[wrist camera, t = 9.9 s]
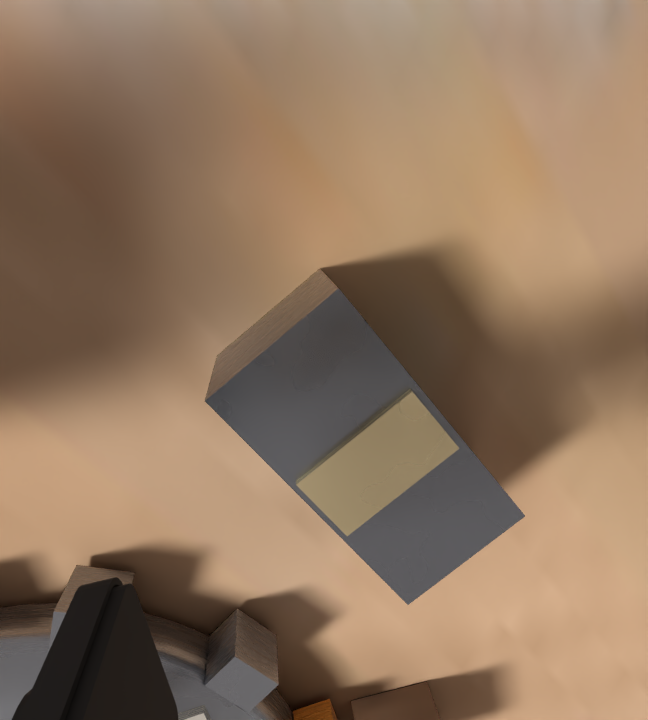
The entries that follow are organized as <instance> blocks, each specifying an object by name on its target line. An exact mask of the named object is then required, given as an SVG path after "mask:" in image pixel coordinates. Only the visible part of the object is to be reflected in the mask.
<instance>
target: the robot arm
mask: <svg viewBox="0 0 648 720" xmlns="http://www.w3.org/2000/svg"><path fill="white" fill-rule="evenodd" d="M12 720H178V711H177V706H176V702H175V700H174V697H173V694H172V691H171V688H170V686H169V683H168V680H167V677H166V674H165V672H164V669H163V666H162V663H161V660H160V657H159V655H158V652H157V649H156V646H155V643H154V641H153V638H152V635H151V632H150V629H149V627H148V624H147V621H146V618H145V615H144V613H143V610H142V607H141V604H140V601H139V599H138V596H137V593H136V590H135V588H134V586H133V585H132V584H130V583H129V584H125V585H123V584H122V581H121V580H120V579H119V578H117V577H114V578H110V579H106V580H101V581H97V582H93V583H89V584H85V585H81V586H80V587H78V589H77V590H76V592H75V594H74V597H73V599H72V601H71V603H70V605H69V608H68V610H67V612H66V614H65V617H64V619H63V621H62V623H61V626H60V628H59V630H58V632H57V634H56V637H55V639H54V641H53V643H52V646H51V648H50V650H49V652H48V654H47V657H46V659H45V661H44V663H43V666H42V668H41V670H40V672H39V675H38V677H37V679H36V681H35V683H34V686H33V688H32V689H31V690H30V691H29V692H28V693H27V694H25V695H24V697H23V698H22V700H21V702H20V703H19V705H18V707H17V709H16V711H15V713H14V715H13V718H12Z"/></svg>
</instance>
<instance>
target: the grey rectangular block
mask: <svg viewBox="0 0 648 720" xmlns="http://www.w3.org/2000/svg"><path fill="white" fill-rule="evenodd" d="M205 402H206V403H207V404H208V405H209V406H210V407H211V408H212V409H213V410H214V411H215V412H216V413H217V414H218V415H219V416H220V417H221V418H222V419H223V420H224V421H225V422H226V423H227V424H228V425H229V426H230V427H231V428H232V429H233V430H234V431H235V432H236V433H237V434H238V435H239V436H240V437H241V438H242V439H243V440H244V441H245V442H246V443H247V444H248V445H249V446H250V447H251V448H252V449H253V450H254V451H255V452H256V453H257V454H258V455H259V456H260V457H261V458H262V459H263V460H264V461H265V462H266V463H267V464H268V465H269V466H270V467H271V468H272V469H273V470H274V471H275V472H276V473H277V474H278V475H279V476H280V477H281V478H282V479H283V480H284V481H285V482H286V483H287V484H288V485H289V486H290V487H291V488H292V489H293V490H294V491H295V492H296V493H297V494H298V495H299V496H300V497H301V498H302V499H303V500H304V501H305V502H306V503H307V504H308V505H309V506H310V507H311V508H312V509H313V510H314V511H315V512H316V513H317V514H318V515H319V516H320V517H321V518H322V519H323V520H324V521H325V522H326V523H327V524H328V525H329V526H330V527H331V528H332V529H333V530H334V531H335V532H336V533H337V534H338V535H339V536H340V537H341V538H342V539H343V540H344V541H345V542H346V543H347V544H348V545H349V546H350V547H351V548H352V549H353V550H354V551H355V552H356V553H357V554H358V555H359V556H360V557H361V558H362V559H363V560H364V561H365V562H366V563H367V564H368V565H369V566H370V567H371V568H372V569H373V570H374V571H375V572H376V573H377V574H378V575H379V576H380V577H381V578H382V579H383V580H384V581H385V582H386V583H387V584H388V585H389V586H390V587H391V588H392V589H393V590H394V591H395V592H396V593H397V594H398V595H399V596H400V597H401V598H402V599H403V600H404V601H405V602H406V603H407V604H410V603H411V602H412V601H414V600H415V599H416V598H418V597H419V596H420V595H422V594H423V593H424V592H426V591H427V590H428V589H430V588H431V587H432V586H434V585H435V584H436V583H438V582H439V581H440V580H442V579H443V578H444V577H445V576H447V575H448V574H449V573H451V572H452V571H453V570H455V569H456V568H457V567H459V566H460V565H461V564H463V563H464V562H465V561H467V560H468V559H469V558H471V557H472V556H473V555H475V554H476V553H477V552H478V551H480V550H481V549H482V548H484V547H485V546H486V545H488V544H489V543H490V542H492V541H493V540H494V539H496V538H497V537H498V536H500V535H501V534H502V533H504V532H505V531H506V530H508V529H509V528H510V527H511V526H513V525H514V524H515V523H517V522H518V521H519V520H521V519H522V518H523V517H525V515H524V514H523V513H522V512H521V510H520V509H519V508H518V507H517V505H516V504H515V503H514V502H513V501H512V499H511V498H510V497H509V496H508V494H507V493H506V492H505V491H504V490H503V488H502V487H501V486H500V485H499V483H498V482H497V481H496V480H495V479H494V477H493V476H492V475H491V474H490V472H489V471H488V470H487V469H486V468H485V466H484V465H483V464H482V463H481V461H480V460H479V459H478V458H477V457H476V455H475V454H474V453H473V452H472V450H471V449H470V448H469V447H468V446H467V444H466V443H465V442H464V441H463V439H462V438H461V437H460V436H459V435H458V433H457V432H456V431H455V430H454V428H453V427H452V426H451V425H450V424H449V422H448V421H447V420H446V419H445V417H444V416H443V415H442V414H441V413H440V411H439V410H438V409H437V408H436V406H435V405H434V404H433V403H432V402H431V400H430V399H429V398H428V397H427V395H426V394H425V393H424V392H423V391H422V389H421V388H420V387H419V386H418V385H417V383H416V382H415V381H414V380H413V378H412V377H411V376H410V375H409V374H408V372H407V371H406V370H405V369H404V367H403V366H402V365H401V364H400V363H399V361H398V360H397V359H396V358H395V356H394V355H393V354H392V353H391V352H390V350H389V349H388V348H387V347H386V345H385V344H384V343H383V342H382V341H381V339H380V338H379V337H378V336H377V334H376V333H375V332H374V331H373V330H372V328H371V327H370V326H369V325H368V323H367V322H366V321H365V320H364V319H363V317H362V316H361V315H360V314H359V312H358V311H357V310H356V309H355V308H354V306H353V305H352V304H351V303H350V301H349V300H348V299H347V298H346V297H345V295H344V294H343V293H342V292H341V290H340V289H339V288H338V287H337V286H336V285H335V284H334V283H333V282H332V281H331V280H330V279H329V278H328V277H327V276H326V274H325V273H324V272H323V271H322V270H321V269H319V270H317V271H316V272H315V273H314V274H313V275H312V276H310V277H309V278H308V279H307V280H306V281H305V282H303V283H302V284H301V285H300V286H299V287H297V288H296V289H295V290H294V291H293V292H292V293H290V294H289V295H288V296H287V297H286V298H284V299H283V300H282V301H281V302H280V303H279V304H277V305H276V306H275V307H274V308H273V309H272V310H270V311H269V312H268V313H267V314H266V315H264V316H263V317H262V318H261V319H260V320H259V321H257V322H256V323H255V324H254V325H253V326H251V327H250V328H249V329H248V330H247V331H246V332H244V333H243V334H242V335H241V336H240V337H239V338H237V339H236V340H235V341H234V342H233V343H231V344H230V345H229V346H228V347H227V348H226V349H224V350H223V351H222V352H221V353H220V354H218V355H217V358H216V361H215V365H214V369H213V372H212V376H211V380H210V383H209V387H208V391H207V394H206V398H205Z"/></svg>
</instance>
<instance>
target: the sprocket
mask: <svg viewBox="0 0 648 720" xmlns="http://www.w3.org/2000/svg"><path fill="white" fill-rule="evenodd" d="M134 575H135V572H129V571H120V570H112V569H104V568H96V567H88V566H80V565H76V567H75V569H74V571H73V573H72V575H71V577H70V580H69V582H68V584H67V586H66V588H65V590H64V592H63V594H62V596H61V598H60V600H59V602H58V603H42V604H22V605H16V606H9V607H2V608H0V720H12V718H13V715H14V713H15V711H16V709H17V707H18V705H19V703H20V702H21V700H22V698H23V697H24V695H25V694H27V693H28V692H29V691H30V690H31V689H32V688H33V686H34V683H35V681H36V679H37V677H38V675H39V672H40V670H41V668H42V666H43V663H44V661H45V659H46V657H47V654H48V652H49V650H50V648H51V646H52V643H53V641H54V639H55V637H56V634H57V632H58V630H59V628H60V626H61V623H62V621H63V619H64V617H65V614H66V612H67V610H68V608H69V605H70V603H71V601H72V599H73V597H74V594H75V592H76V590H77V589H78V587H80V586H81V585H85V584H89V583H93V582H97V581H101V580H106V579H110V578H114V577H117V578H119V579H120V580H121V581H122V584H123V585H125V584H129V583H130V584H132V585H133V580H134ZM144 615H145V618H146V621H147V624H148V627H149V629H150V632H151V635H152V638H153V641H154V643H155V646H156V649H157V652H158V655H159V657H160V660H161V663H162V666H163V669H164V672H165V674H166V677H167V680H168V683H169V686H170V688H171V691H172V694H173V697H174V700H175V702H176V706H177V711H178V720H337V717H336V715H335V712H334V709H333V707H332V704H331V701H330V699H327V700H324V701H321V702H318V703H315V704H312V705H309V706H306V707H303V708H300V709H297V710H294V711H293V713H294V715H293V713H292V711H291V709H290V707H289V705H288V704H287V703H286V701H285V700H284V699H283V697H282V696H281V694H280V693H279V692H278V690H277V689H276V688H275V687H276V686H278V685H279V680H278V658H277V636H276V634H274V633H273V632H271V631H270V630H268V629H267V628H265V627H264V626H262V625H261V624H259V623H258V622H256V621H255V620H253V619H252V618H250V617H249V616H247V615H246V614H244V613H243V612H242V611H240V610H239V609H236V610H235V611H234V612H233V613H232V614H231V615H230V616H229V617H228V618H227V619H226V620H225V621H224V622H223V623H222V624H221V625H220V626H219V627H218V628H217V629H216V630H215V631H214V632H213V633H212V634H211V635H210V637H209V636H207V635H205V634H203V633H201V632H199V631H196V630H194V629H191V628H189V627H186V626H184V625H181V624H179V623H176V622H174V621H172V620H168V619H165V618H161V617H157V616H154V615H150V614H146V613H144Z"/></svg>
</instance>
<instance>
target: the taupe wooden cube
mask: <svg viewBox="0 0 648 720" xmlns="http://www.w3.org/2000/svg"><path fill="white" fill-rule="evenodd" d="M351 705H352V710H353V715H354V720H440V717H439V715H438V712H437V709H436V706H435V703H434V700H433V698H432V695H431V692H430V689H429V686H428V684H427V682H424V683H420V684H416V685H412V686H408V687H404V688H400V689H396V690H392V691H388V692H384V693H380V694H376V695H372V696H368V697H364V698H361V699H357V700H353V701H351Z"/></svg>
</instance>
